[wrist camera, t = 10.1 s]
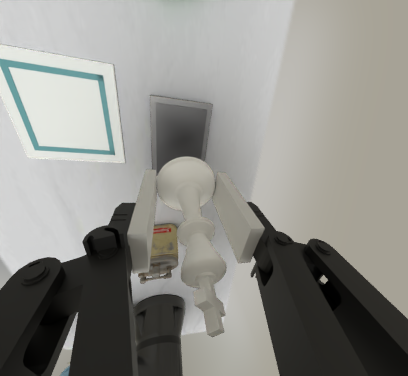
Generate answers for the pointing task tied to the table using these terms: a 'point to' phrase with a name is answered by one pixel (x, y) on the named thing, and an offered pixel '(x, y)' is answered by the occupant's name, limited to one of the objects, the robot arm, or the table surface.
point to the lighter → (162, 253)
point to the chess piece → (195, 232)
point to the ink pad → (178, 129)
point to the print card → (62, 105)
